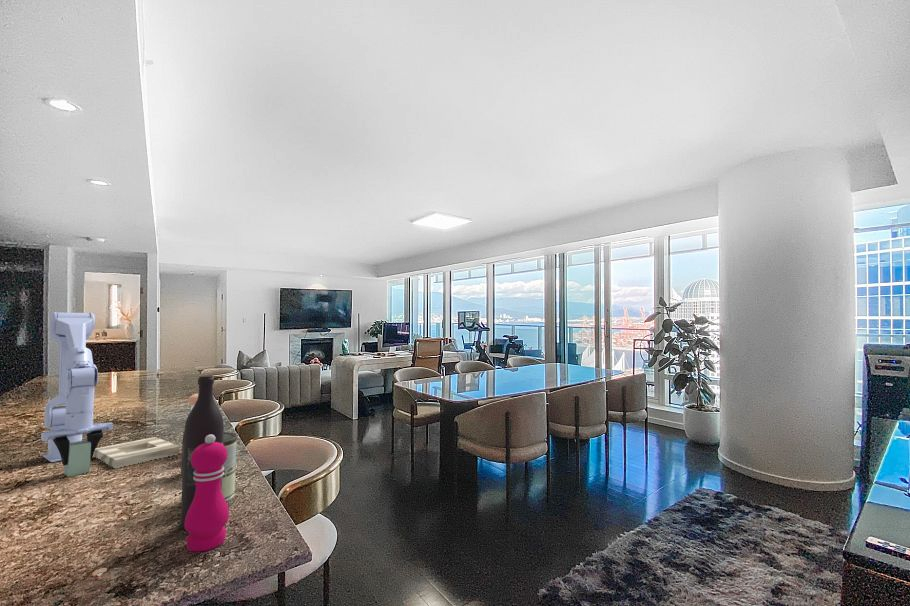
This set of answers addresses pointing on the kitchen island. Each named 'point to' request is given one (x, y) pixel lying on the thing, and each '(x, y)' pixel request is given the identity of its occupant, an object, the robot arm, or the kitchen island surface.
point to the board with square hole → (135, 452)
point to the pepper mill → (207, 498)
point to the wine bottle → (199, 437)
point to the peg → (78, 458)
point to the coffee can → (229, 466)
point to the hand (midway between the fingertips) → (77, 461)
